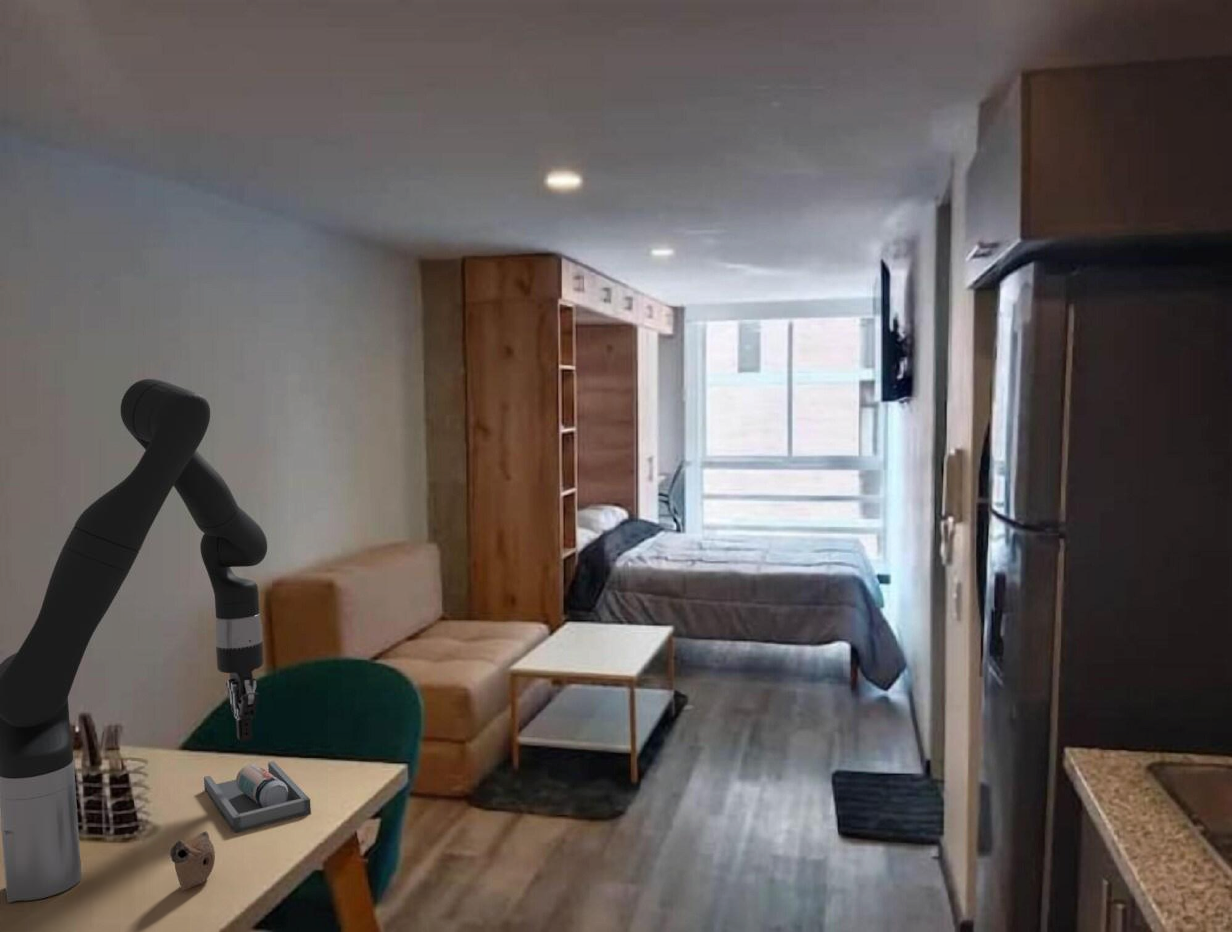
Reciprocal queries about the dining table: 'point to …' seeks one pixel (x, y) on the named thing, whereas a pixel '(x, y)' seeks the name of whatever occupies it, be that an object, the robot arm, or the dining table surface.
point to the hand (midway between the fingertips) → (245, 739)
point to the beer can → (261, 786)
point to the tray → (248, 812)
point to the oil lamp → (193, 860)
